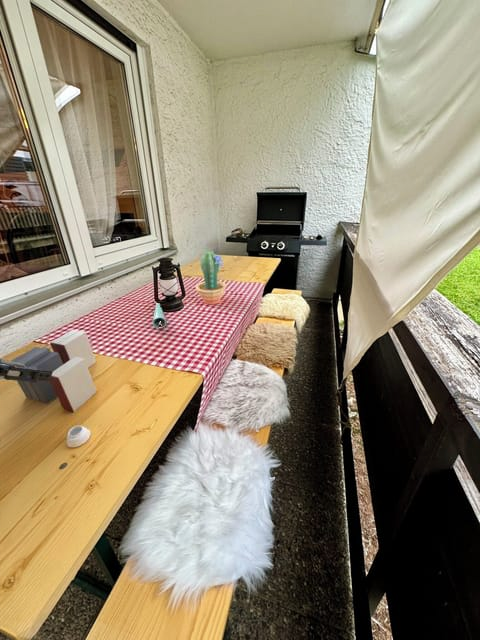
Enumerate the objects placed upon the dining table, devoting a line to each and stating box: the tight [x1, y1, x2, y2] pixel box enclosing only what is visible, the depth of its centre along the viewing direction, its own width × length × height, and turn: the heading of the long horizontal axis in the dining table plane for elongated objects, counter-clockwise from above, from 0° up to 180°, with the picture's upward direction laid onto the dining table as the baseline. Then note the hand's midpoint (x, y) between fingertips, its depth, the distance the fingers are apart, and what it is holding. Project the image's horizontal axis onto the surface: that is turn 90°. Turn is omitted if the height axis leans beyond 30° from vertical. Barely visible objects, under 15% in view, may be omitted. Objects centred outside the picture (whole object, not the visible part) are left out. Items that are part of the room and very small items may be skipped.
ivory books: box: [49, 329, 97, 369], centre depth 83 cm, size 6×8×12 cm, turn 162°
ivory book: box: [50, 357, 98, 414], centre depth 70 cm, size 3×8×12 cm, turn 162°
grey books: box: [9, 346, 63, 405], centre depth 73 cm, size 8×8×13 cm
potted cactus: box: [195, 250, 227, 305], centre depth 126 cm, size 15×15×25 cm
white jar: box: [65, 424, 92, 448], centre depth 61 cm, size 5×3×5 cm
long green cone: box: [152, 302, 167, 330], centre depth 118 cm, size 5×6×27 cm
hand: (36, 372), depth 60 cm, fingers open, 8 cm apart
